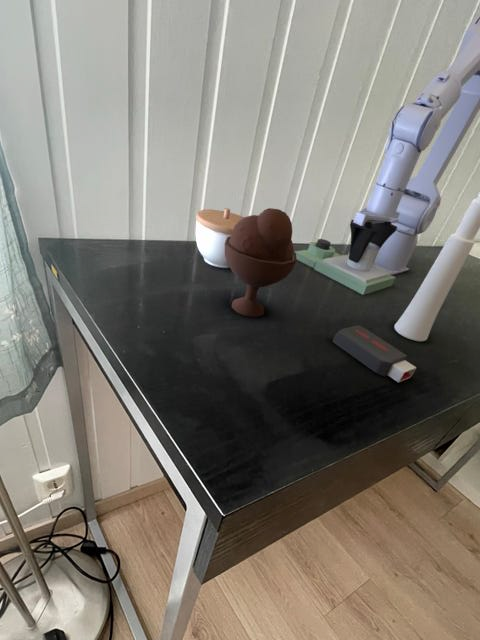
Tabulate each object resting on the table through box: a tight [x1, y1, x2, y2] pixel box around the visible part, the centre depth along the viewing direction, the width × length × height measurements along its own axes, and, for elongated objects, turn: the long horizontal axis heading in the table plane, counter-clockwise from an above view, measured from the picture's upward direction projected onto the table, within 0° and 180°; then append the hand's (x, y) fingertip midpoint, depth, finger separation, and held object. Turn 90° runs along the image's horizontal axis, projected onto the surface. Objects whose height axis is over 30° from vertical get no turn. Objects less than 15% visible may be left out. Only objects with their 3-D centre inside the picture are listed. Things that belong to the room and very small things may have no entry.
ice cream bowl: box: [225, 207, 298, 318], centre depth 57 cm, size 11×11×15 cm
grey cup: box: [346, 242, 380, 271], centre depth 80 cm, size 6×6×4 cm
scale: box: [313, 254, 396, 296], centre depth 83 cm, size 13×13×3 cm
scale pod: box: [294, 241, 343, 269], centre depth 87 cm, size 12×6×3 cm, turn 134°
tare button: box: [316, 238, 331, 250], centre depth 85 cm, size 3×3×2 cm
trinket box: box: [195, 207, 245, 269], centre depth 71 cm, size 11×11×9 cm
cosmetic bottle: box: [393, 191, 480, 342], centre depth 60 cm, size 6×6×22 cm
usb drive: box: [332, 325, 417, 384], centre depth 56 cm, size 5×12×3 cm, turn 36°
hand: (360, 259), depth 81 cm, fingers closed on grey cup, 6 cm apart
